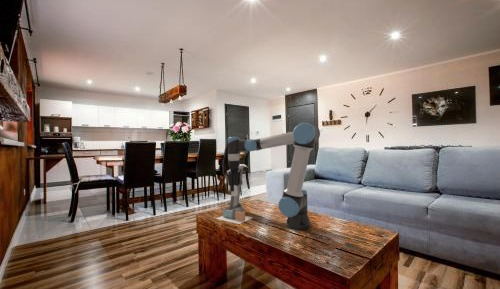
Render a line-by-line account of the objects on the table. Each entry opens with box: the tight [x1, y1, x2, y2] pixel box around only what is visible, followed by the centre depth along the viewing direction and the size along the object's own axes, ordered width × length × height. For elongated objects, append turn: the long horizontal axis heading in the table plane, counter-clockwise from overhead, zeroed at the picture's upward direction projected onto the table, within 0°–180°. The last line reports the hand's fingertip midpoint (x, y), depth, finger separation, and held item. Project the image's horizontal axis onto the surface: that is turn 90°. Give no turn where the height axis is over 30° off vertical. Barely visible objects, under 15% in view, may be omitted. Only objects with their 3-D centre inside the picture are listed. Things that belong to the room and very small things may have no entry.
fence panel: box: [235, 210, 246, 222], centre depth 161 cm, size 8×1×6 cm, turn 54°
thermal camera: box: [227, 165, 245, 213], centre depth 186 cm, size 12×13×35 cm
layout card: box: [216, 215, 254, 225], centre depth 166 cm, size 21×16×1 cm
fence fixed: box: [222, 207, 235, 219], centre depth 167 cm, size 11×2×7 cm, turn 54°
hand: (234, 195), depth 156 cm, fingers open, 2 cm apart
